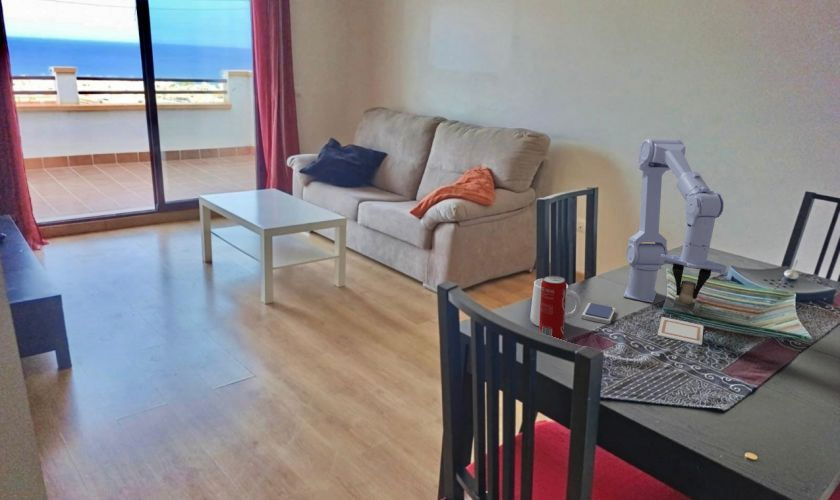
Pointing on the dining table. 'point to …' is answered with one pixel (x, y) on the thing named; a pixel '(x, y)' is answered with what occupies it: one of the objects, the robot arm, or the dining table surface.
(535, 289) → the mug
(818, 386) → the dining table surface
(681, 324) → the sheet
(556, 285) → the beverage can
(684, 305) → the stamp
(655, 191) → the robot arm
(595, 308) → the ink pad
